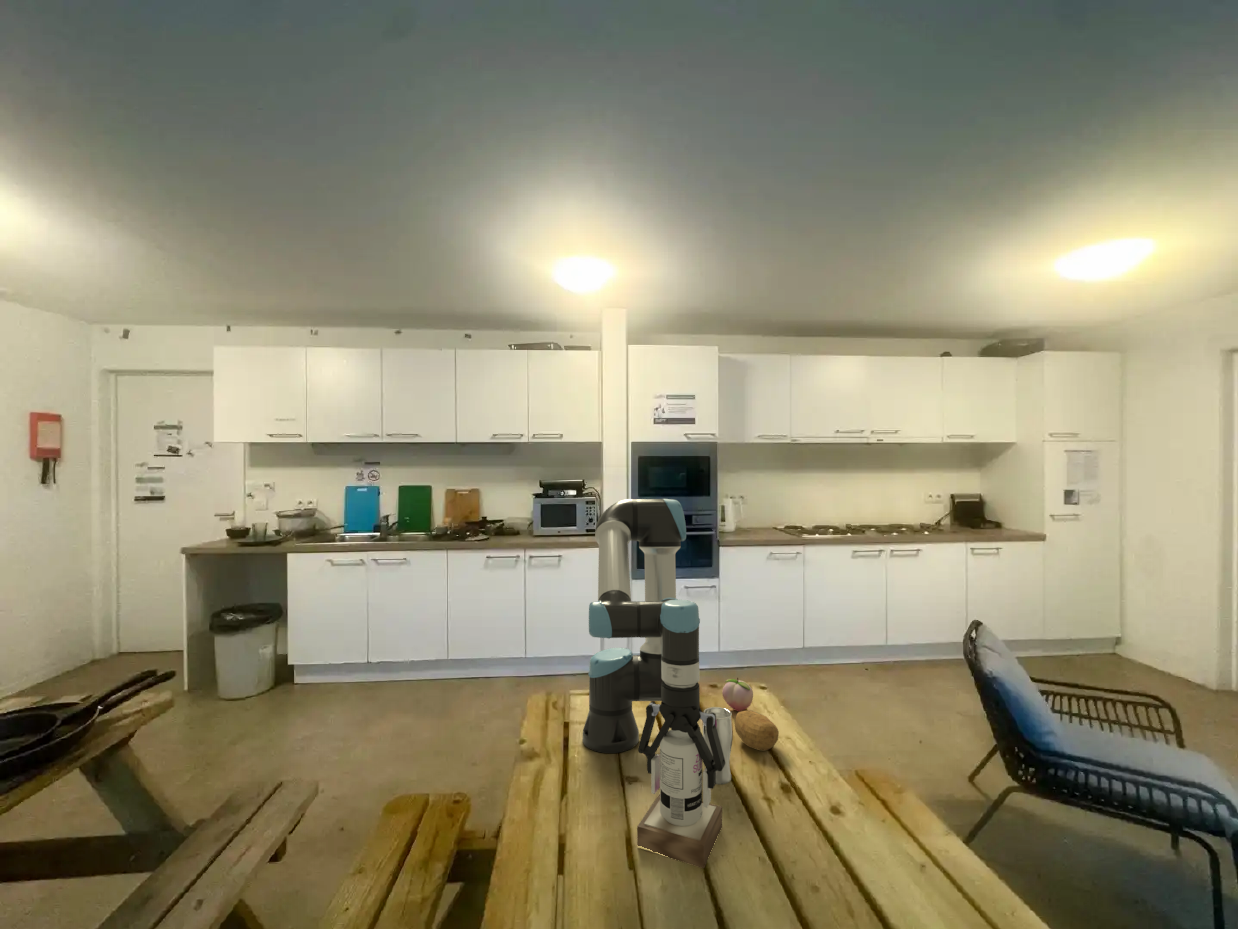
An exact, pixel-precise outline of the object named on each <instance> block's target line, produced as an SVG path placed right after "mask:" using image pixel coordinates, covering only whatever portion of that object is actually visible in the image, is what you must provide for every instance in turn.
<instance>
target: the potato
mask: <svg viewBox="0 0 1238 929" xmlns="http://www.w3.org/2000/svg"><path fill="white" fill-rule="evenodd" d="M734 730H735V733H736V735H737V736H738V737H739V739H740V740H741V741H742V743H743V744H745V745H746V746H747V747H749V748H752V749H755V750H757V751H762V752H763V751H767V750H770V749H771V748H773V747H775V745H776V744H777V742H778V740H779V734H780V733H779V732H780V731H779V729H778V727H777V726H776V724H775V723H774V722H773V721H771V719H769V718H768V717H767V716H766V715H763V714H760V713H758V712H755V711H753V710H746V709H745V710H742V711H738V712H737V713H736V715H735V719H734Z"/></svg>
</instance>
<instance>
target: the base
mask: <svg viewBox="0 0 1238 929" xmlns="http://www.w3.org/2000/svg"><path fill="white" fill-rule="evenodd" d="M721 828H723V806H722V805H719V804H715V803H711V802H710V803H709V805H708V807H707V808H706V807H703V800H702V816H701V818H700V819H699V820H698V821H697V822H696V823H695V824H693V825H690V826H676V825H673V824H671V823H669V822H668V821H666V820H665V818H664V817H662V815H661V813H660V793H659V794H658V795H657V796H656V798H655V800H654V801H653V803H652V804H651V806H650V807H649V809H647V812H646V813H645V814H644V816H643V817H642V818H641V820H640V822H639V823H638V824H637V827H636V829H637V830H636V831H637V832H636V834H637V835H636V836H637V838H636V839H637V840H636V843H637V845H638V846H642V847H644V848H647V849H650V850H652V851H653V852H658V853H660V854H663V855H665V856H668V857H669V859H671V858H672V860H675V859H676V860H675V861H678V860H679V861H678V862H682V863H684V864H687V865H690V866H691V865H692V866H694V867H697V868H701V869H705V868H706V864H707V863H708V861H707V860H709V858H710V856H711V854H710V852H711V853H712V851H713V849H714V847H715V845H714V843H715V844H716V842H717V840H718V838H717V836H718V837H719V835H720V833H721V831H720V830H722V829H721ZM718 834H719V835H718ZM716 839H717V840H716ZM715 841H716V842H715ZM637 845H636V846H637ZM713 846H714V847H713ZM712 848H713V849H712ZM711 850H712V851H711ZM709 855H710V856H709ZM665 856H664V857H665ZM668 857H667V858H668ZM708 857H709V858H708Z"/></svg>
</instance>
